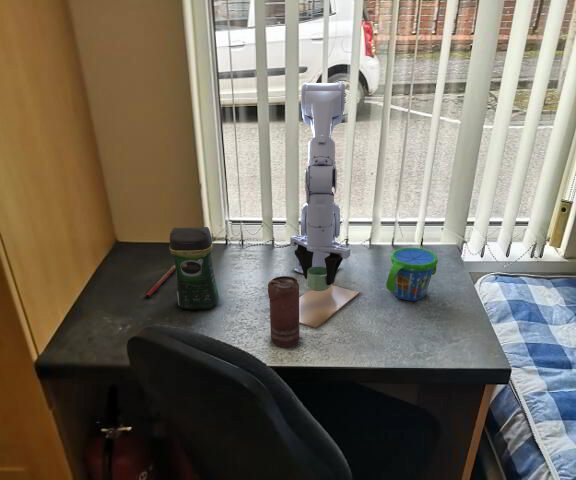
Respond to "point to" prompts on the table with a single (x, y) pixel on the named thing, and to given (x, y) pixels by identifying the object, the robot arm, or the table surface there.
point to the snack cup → (411, 272)
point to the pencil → (160, 281)
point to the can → (284, 311)
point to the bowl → (317, 278)
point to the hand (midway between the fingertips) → (318, 280)
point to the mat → (322, 304)
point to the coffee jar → (194, 267)
